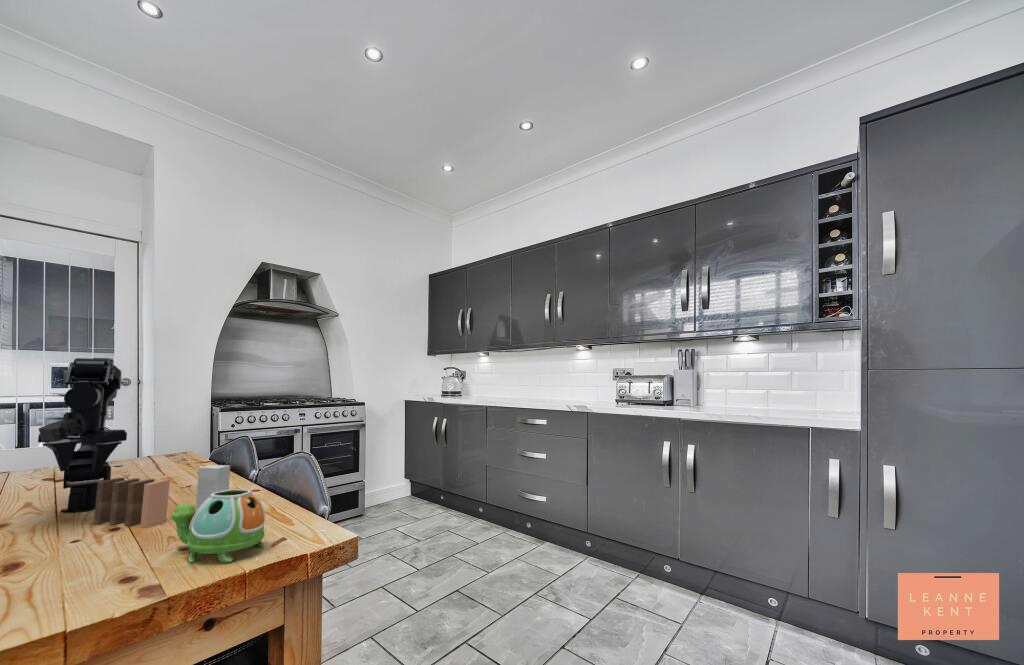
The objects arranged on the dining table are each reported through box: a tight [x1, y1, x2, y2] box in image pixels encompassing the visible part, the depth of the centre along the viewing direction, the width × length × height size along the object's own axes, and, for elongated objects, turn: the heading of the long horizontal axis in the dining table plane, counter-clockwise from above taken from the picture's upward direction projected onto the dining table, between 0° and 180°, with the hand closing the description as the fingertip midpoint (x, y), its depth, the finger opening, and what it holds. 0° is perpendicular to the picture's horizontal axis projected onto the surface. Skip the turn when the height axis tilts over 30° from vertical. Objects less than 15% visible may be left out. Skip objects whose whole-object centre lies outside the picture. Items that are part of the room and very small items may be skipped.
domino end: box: [139, 479, 170, 529], centre depth 106 cm, size 2×5×10 cm, turn 170°
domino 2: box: [108, 477, 141, 526], centre depth 107 cm, size 2×5×10 cm, turn 170°
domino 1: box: [93, 477, 126, 526], centre depth 108 cm, size 2×5×10 cm, turn 170°
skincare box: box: [195, 464, 231, 512], centre depth 115 cm, size 6×4×12 cm
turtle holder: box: [171, 488, 266, 564], centre depth 89 cm, size 12×18×12 cm
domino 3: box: [124, 478, 156, 528], centre depth 106 cm, size 2×5×10 cm, turn 170°
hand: (79, 471), depth 108 cm, fingers open, 9 cm apart
